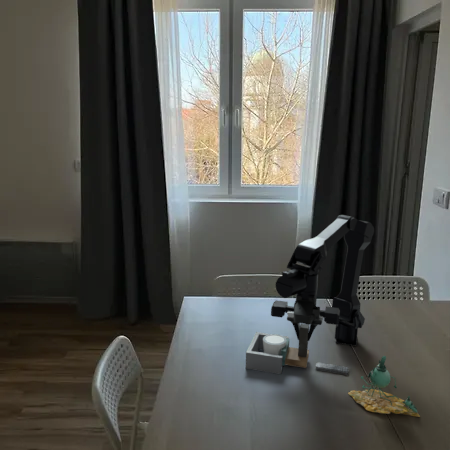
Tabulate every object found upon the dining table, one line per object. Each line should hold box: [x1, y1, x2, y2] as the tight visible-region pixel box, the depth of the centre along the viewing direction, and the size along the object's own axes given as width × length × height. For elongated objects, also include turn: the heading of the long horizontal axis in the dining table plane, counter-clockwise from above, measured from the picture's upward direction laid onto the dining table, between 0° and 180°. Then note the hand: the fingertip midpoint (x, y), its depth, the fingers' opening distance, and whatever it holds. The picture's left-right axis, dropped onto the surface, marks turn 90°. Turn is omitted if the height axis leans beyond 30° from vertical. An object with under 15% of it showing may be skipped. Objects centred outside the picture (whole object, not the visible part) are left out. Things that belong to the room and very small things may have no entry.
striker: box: [281, 323, 310, 369], centre depth 134 cm, size 7×8×11 cm
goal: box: [245, 331, 290, 375], centre depth 137 cm, size 10×13×5 cm
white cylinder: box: [263, 333, 287, 356], centre depth 136 cm, size 7×7×7 cm
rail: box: [315, 361, 349, 376], centre depth 132 cm, size 9×2×1 cm, turn 74°
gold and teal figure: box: [347, 355, 421, 418], centre depth 115 cm, size 10×18×15 cm, turn 48°
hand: (303, 339), depth 133 cm, fingers closed on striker, 2 cm apart
